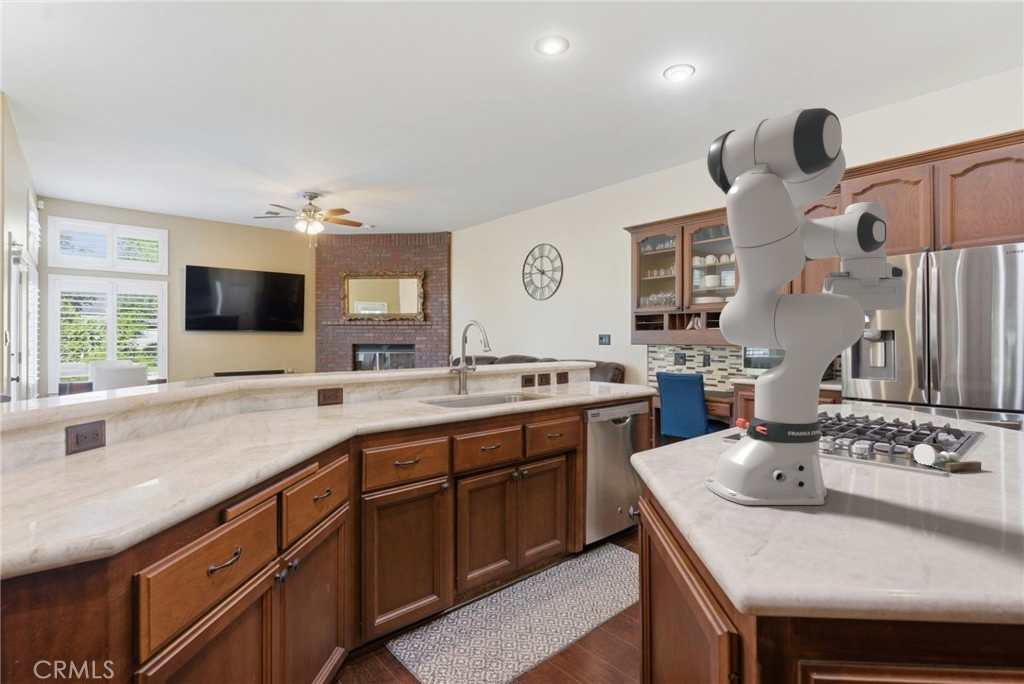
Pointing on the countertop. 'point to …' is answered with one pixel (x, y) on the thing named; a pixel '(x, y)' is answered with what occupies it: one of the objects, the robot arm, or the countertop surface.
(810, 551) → the countertop surface
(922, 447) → the chess piece
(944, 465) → the cradle
